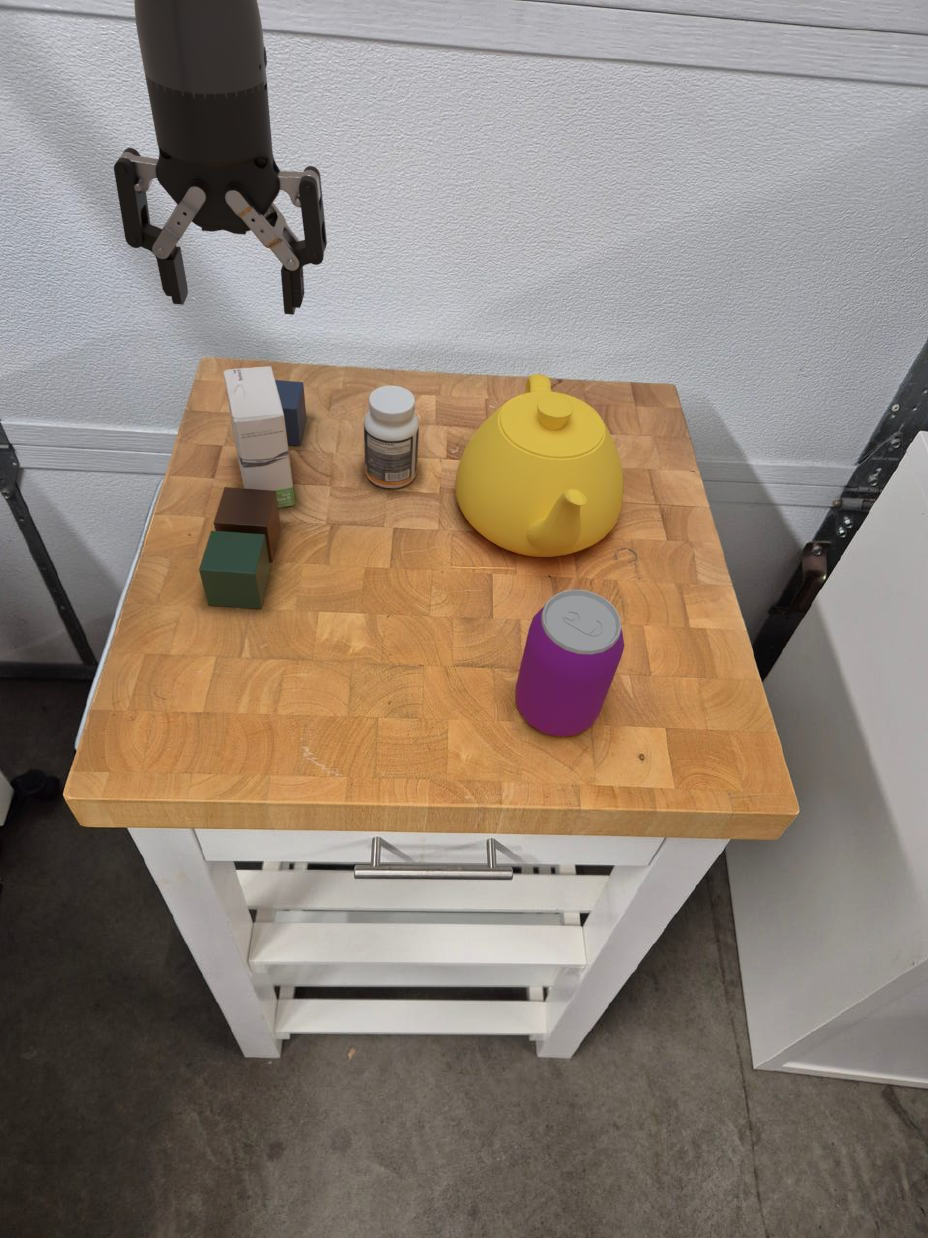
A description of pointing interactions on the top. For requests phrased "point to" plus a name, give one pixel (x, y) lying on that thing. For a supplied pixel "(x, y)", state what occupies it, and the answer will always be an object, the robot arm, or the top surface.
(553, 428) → the teapot
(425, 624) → the top surface
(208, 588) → the green block
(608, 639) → the beverage can
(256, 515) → the walnut block
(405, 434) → the pill bottle
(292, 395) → the slate block
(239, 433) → the ink box
